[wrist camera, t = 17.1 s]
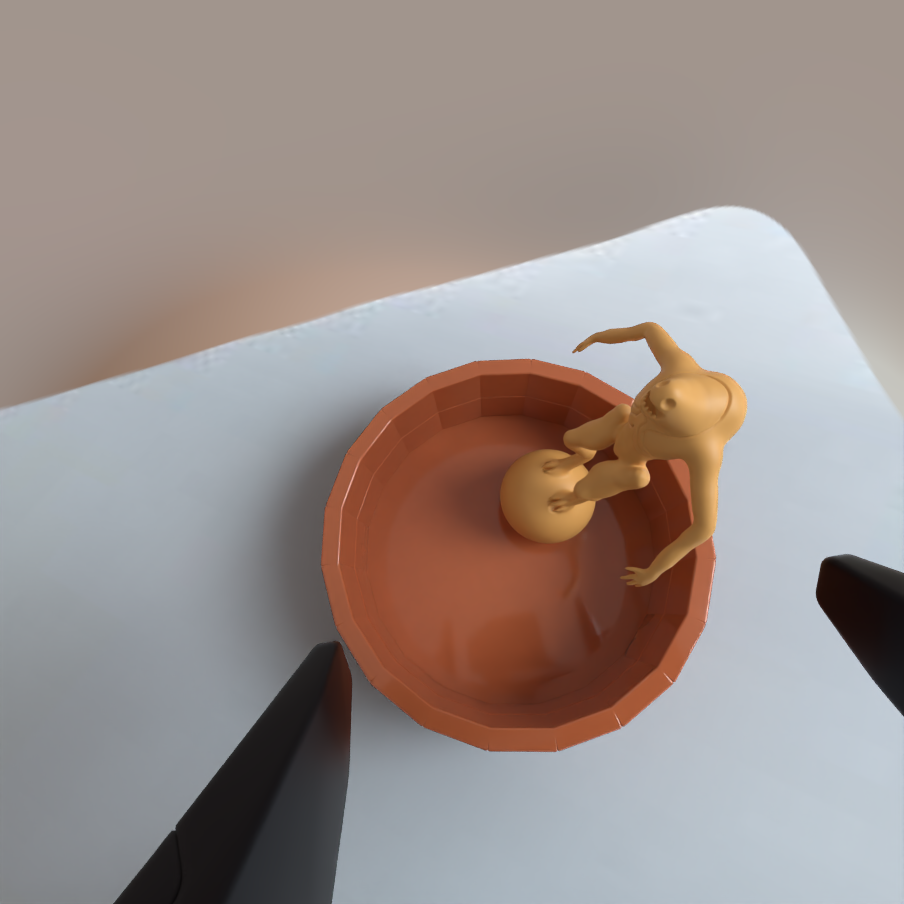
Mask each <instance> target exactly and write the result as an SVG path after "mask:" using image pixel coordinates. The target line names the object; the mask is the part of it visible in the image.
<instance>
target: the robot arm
mask: <svg viewBox="0 0 904 904" xmlns="http://www.w3.org/2000/svg"><path fill="white" fill-rule="evenodd" d="M816 598H817V601H818V603H819V605H820V607H821V608H822V610H823V611H824V612H825V614H826V615H827V617H828V618H829V619H830V621H831V622H832V624H833V625H834V626H835V628H836V629H837V631H838V632H839V633H840V635H841V636H842V638H843V639H844V640H845V642H846V643H847V645H848V646H849V647H850V649H851V650H852V652H853V653H854V654H855V656H856V657H857V659H858V660H859V661H860V663H861V664H862V666H863V667H864V668H865V670H866V671H867V672H868V674H869V675H870V676H871V678H872V679H873V680H874V682H875V683H876V684H877V685H878V687H879V688H880V689H881V690H882V692H883V693H884V694H885V695H886V696H887V698H888V699H889V700H890V701H891V702H892V703H893V705H894V706H895V707H896V708H897V709H898V710H899V712H900V713H901V714H902V715H903V716H904V573H902V572H899V571H897V570H894V569H891V568H888V567H885V566H882V565H879V564H877V563H874V562H871V561H868V560H865V559H862V558H859V557H857V556H854V555H849V554H843V555H838V556H832V557H827V558H825V559H824V560H823V561H822V563H821V567H820V572H819V577H818V583H817V588H816ZM351 702H352V678H351V672H350V669H349V666H348V663H347V660H346V657H345V654H344V651H343V648H342V646H341V644H340V643H339V642H338V641H332V642H327V643H321V644H318V645H316V646H315V647H314V648H313V649H312V651H311V652H310V653H309V655H308V656H307V657H306V658H305V660H304V661H303V662H302V664H301V665H300V666H299V668H298V669H297V670H296V671H295V673H294V674H293V675H292V677H291V678H290V679H289V680H288V682H287V683H286V684H285V686H284V687H283V688H282V689H281V691H280V692H279V693H278V695H277V696H276V697H275V698H274V700H273V701H272V702H271V704H270V705H269V706H268V707H267V709H266V710H265V711H264V713H263V714H262V715H261V716H260V718H259V719H258V720H257V722H256V723H255V724H254V725H253V727H252V728H251V729H250V731H249V732H248V733H247V734H246V736H245V737H244V738H243V740H242V741H241V742H240V743H239V745H238V746H237V747H236V749H235V750H234V751H233V752H232V754H231V755H230V756H229V758H228V759H227V760H226V761H225V763H224V764H223V765H222V767H221V768H220V769H219V771H218V772H217V773H216V774H215V776H214V777H213V778H212V780H211V781H210V782H209V783H208V785H207V786H206V787H205V789H204V790H203V791H202V792H201V794H200V795H199V796H198V798H197V799H196V800H195V801H194V803H193V804H192V805H191V807H190V808H189V809H188V810H187V812H186V813H185V814H184V816H183V817H182V818H181V819H180V821H179V822H178V823H177V825H176V828H175V829H176V831H175V830H173V831H171V832H170V833H169V835H168V836H167V837H166V838H165V840H164V841H163V842H162V844H161V845H160V846H159V847H158V849H157V850H156V851H155V853H154V854H153V855H152V856H151V858H150V859H149V860H148V861H147V863H146V864H145V865H144V866H143V868H142V869H141V870H140V871H139V873H138V874H137V875H136V876H135V878H134V879H133V880H132V881H131V883H130V884H129V885H128V886H127V888H126V889H125V890H124V891H123V892H122V894H121V895H120V896H119V897H118V899H117V900H116V901H115V902H114V903H113V904H332V896H333V889H334V882H335V874H336V867H337V860H338V852H339V845H340V838H341V830H342V823H343V816H344V808H345V801H346V794H347V786H348V777H349V764H350V735H351Z"/></svg>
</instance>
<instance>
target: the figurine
mask: <svg viewBox="0 0 904 904" xmlns="http://www.w3.org/2000/svg"><path fill="white" fill-rule="evenodd" d="M643 338H645V339H646V341H647V343H648V346H649V347H650V349H651V351H652V353H653V355H654V356H655V358H656V360H657V361H658V363H659V364H660V366H661V372H660V374H659V375H658V376H656V377H655V378H654V379H653V380H651V381H650V382H649V383H648V384H647V385H646V386H645V387H644V388H643V389H642V390H641V391H640V392H639V394H638V395H637V396H636V398H635V400H634V401H633V403H632V406H631V407H630V406H629V405H626V404H619V405H617V406H616V407H615V408H614V409H613V410H611V411H609V412H608V413H607V414H606V415H605V416H603V417H601V418H598V419H596V420H592V421H590V422H587V423H585V424H583V425H581V426H580V427H578V428H575V429H572V430H569V431H567V432H566V433H565V434H564V437H563V441H564V444H565V446H566V447H567V448H568V449H570V450H572V451H574V452H575V453H576V454H574V455H569V454H567V453H565V452H562V451H558V450H553V449H542V450H536V451H532V452H530V453H527V454H525V455H523V456H522V457H520V458H519V459H517V460H516V461H515V462H514V463H513V464H512V465H511V466H510V468H509V469H508V470H507V472H506V474H505V476H504V478H503V481H502V484H501V489H500V502H501V507H502V510H503V513H504V515H505V517H506V519H507V521H508V522H509V524H510V525H511V526H512V528H513V529H514V530H515V531H517V532H518V533H519V534H520V535H522V536H523V537H525V538H527V539H529V540H532V541H535V542H538V543H545V544H552V543H559V542H563V541H566V540H568V539H570V538H572V537H574V536H576V535H577V534H578V533H579V532H581V531H582V530H583V529H584V528H585V526H586V525H587V524H588V522H589V521H590V519H591V517H592V515H593V512H594V508H595V503H596V501H598V500H600V499H602V498H607V497H610V496H613V495H616V494H618V493H620V492H622V491H626V490H633V489H640V488H643V487H645V486H646V485H647V484H648V483H649V481H650V474H649V472H648V469H647V467H646V462H647V461H648V460H653V459H661V460H673V459H682V460H684V461H685V462H686V464H687V466H688V468H689V473H690V491H691V503H692V511H693V518H694V521H693V524H692V525H691V526H690V527H689V528H687V529H686V530H685V531H684V532H683V533H682V534H681V535H680V536H679V537H678V538H677V539H676V540H675V541H674V542H672V543H671V544H670V545H668V546H667V547H666V548H664V549H663V550H662V551H661V552H660V553H659V554H658V556H657V557H656V558H655V560H654V561H653V562H652V564H651V565H650V567H649V568H647V569H640V568H636V567H626V568H625V569H626V570H629V571H633V572H635V574H630V575H627V576H621V577H620V578H621V579H633V581H630V582H627V583H626V584H627V585H635V584H636V585H635V587H641V586H645V585H648V584H650V583H651V582H653V581H655V580H656V579H657V578H658V577H659V576H660V575H661V574H662V573H663V572H664V571H666V570H667V569H669V568H671V567H672V566H674V565H675V564H676V563H677V562H678V561H679V560H680V559H682V558H683V557H684V556H685V555H686V554H687V553H688V552H689V551H691V550H692V549H694V548H695V547H697V546H699V545H700V544H702V543H704V542H705V541H706V540H708V539H709V538H710V537H711V536H712V534H713V533H714V531H715V527H716V522H717V508H718V475H719V471H720V468H721V464H722V459H723V448H724V446H725V444H726V443H727V442H728V441H729V440H730V439H731V438H732V437H733V436H734V435H735V434H736V432H737V431H738V430H739V429H740V427H741V426H742V424H743V422H744V419H745V416H746V412H747V399H746V395H745V393H744V391H743V390H742V388H741V387H740V386H739V384H738V383H737V382H736V381H735V380H733V379H732V378H731V377H729V376H727V375H725V374H722V373H718V372H712V371H707V370H704V369H702V368H701V367H700V366H699V365H698V364H697V363H696V362H695V360H694V359H693V358H692V357H691V356H690V355H689V354H688V353H686V352H684V351H683V350H681V349H680V348H679V347H678V346H677V345H676V343H675V342H674V340H673V339H672V338H671V337H670V336H669V335H668V333H667V332H666V331H665V330H664V329H663V328H662V327H661V326H659V325H658V324H656V323H653V322H646V323H642V324H639V325H636V326H633V327H629V328H617V329H609V330H606V331H603V332H598V333H595V334H593V335H591V336H590V337H588V338H587V339H586V340H584V341H583V342H582V343H580V344H579V345H578V346H577V347H576V349H575V350H574V351H573V352H572V353H575V352H576V351H578V350H579V351H578V352H581V351H583V350H584V349H585V348H587V347H588V346H590V345H591V344H593V343H595V342H601V343H607V344H615V343H622V342H626V341H638V340H641V339H643ZM614 443H615V444H614ZM612 444H614V448H613V450H614V453H615V455H616V456H618V457H619V459H618V460H609V461H603V462H600V463H598V464H596V465H594V466H593V467H592V468H591V470H590V471H589V472H588V470H587V469H586V468H585V466H584V465H583V464H584V463H586V462H588V461H590V460H591V459H592V458H593V457H594V455H595V453H596V451H597V450H603V449H605V448H607V447H609V446H611V445H612Z"/></svg>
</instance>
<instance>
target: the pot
mask: <svg viewBox="0 0 904 904" xmlns="http://www.w3.org/2000/svg"><path fill="white" fill-rule="evenodd" d="M633 401H634V399H633V398H631V397H630V396H628V395H626V394H624V393H622V392H621V391H619V390H617V389H615V388H614V387H612V386H610V385H608V384H607V383H605V382H603V381H601V380H599V379H598V378H596V377H594V376H592V375H591V374H589V373H587V372H586V373H585V372H584V371H580V370H576V369H572V368H568V367H564V366H560V365H555V364H551V363H547V362H543V361H539V360H535V359H532V360H531V359H513V360H489V361H474V362H471V363H468V364H465V365H462V366H459V367H456V368H454V369H451V370H448V371H445V372H442V373H439V374H436V375H433V376H430V377H427V378H426V379H423V380H422V381H420V382H419V383H418V384H416V385H415V386H413V387H412V388H410V389H409V390H407V391H406V392H405V393H403V394H402V395H400V396H399V397H397V398H396V399H395V400H393V401H392V402H390V403H389V404H387V405H386V406H385V407H383V408H382V409H381V410H380V411H379V412H378V413H377V415H376V416H375V417H374V418H373V420H372V421H371V422H370V424H369V425H368V426H367V427H366V429H365V430H364V431H363V432H362V434H361V435H360V436H359V437H358V439H357V440H356V441H355V442H354V444H353V445H352V446H351V447H350V449H349V450H348V451H347V454H346V455H345V457H344V460H343V462H342V465H341V467H340V470H339V472H338V475H337V478H336V480H335V483H334V485H333V488H332V490H331V493H330V495H329V498H328V501H327V503H326V507H325V513H324V526H323V540H322V554H321V566H322V567H321V569H322V573H323V577H324V582H325V586H326V590H327V594H328V598H329V602H330V606H331V611H332V615H333V619H334V623H335V626H336V628H337V631H338V632H339V634H340V635H341V637H342V639H343V640H344V642H345V644H346V645H347V647H348V648H349V650H350V652H351V653H352V655H353V657H354V658H355V660H356V661H357V663H358V665H359V666H360V668H361V670H362V671H363V673H364V674H365V676H366V678H367V679H368V681H369V682H371V685H372V686H374V687H375V688H376V689H377V690H378V691H380V692H381V693H382V694H383V695H384V696H386V697H387V698H388V699H389V700H390V701H392V702H393V703H394V704H395V705H396V706H398V707H399V708H400V709H401V710H402V711H404V712H405V713H406V714H407V715H408V716H410V717H411V718H412V719H413V720H414V721H416V722H417V723H418V724H419V725H420V726H423V727H424V728H426V729H429V730H432V731H434V732H437V733H440V734H442V735H445V736H448V737H450V738H453V739H456V740H458V741H461V742H464V743H467V744H469V745H472V746H475V747H477V748H480V749H483V750H488V751H498V752H556V751H557V750H558V751H561V750H564V749H567V748H569V747H572V746H575V745H577V744H580V743H583V742H586V741H588V740H591V739H594V738H597V737H599V736H602V735H605V734H607V733H610V732H613V731H616V730H618V729H620V728H621V727H623V726H625V725H627V724H628V723H629V722H630V721H631V720H632V719H633V718H635V717H636V716H637V715H638V714H639V713H640V712H642V711H643V710H644V709H645V708H646V707H647V706H648V705H650V704H651V703H652V702H653V701H654V700H655V699H656V698H658V697H659V696H660V695H661V694H662V693H663V692H665V691H666V690H667V689H668V688H669V687H670V686H671V685H672V684H673V682H675V681H676V679H677V677H678V676H679V674H680V672H681V670H682V668H683V666H684V665H685V663H686V661H687V659H688V657H689V655H690V653H691V652H692V650H693V648H694V646H695V644H696V642H697V641H698V639H699V637H700V635H701V633H702V631H703V630H704V628H705V625H706V624H705V623H706V622H707V616H708V609H709V603H710V596H711V590H712V583H713V577H714V571H715V564H716V560H715V559H716V554H715V548H714V543H713V537H712V536H711V537H710V538H709V539H708V540H706V541H705V542H704V543H702V544H700V545H699V546H697V547H695V548H694V549H692V550H691V551H689V552H688V553H687V554H686V555H685V556H684V557H683V558H682V559H680V560H679V561H678V562H677V563H676V564H675V565H674V566H672V567H671V568H669V569H667V570H666V571H664V572H663V573H662V574H661V575H660V576H659V577H658V578H657V579H656V580H655V581H653V582H651V583H650V584H648V585H645V586H641V587H635V585H636V584H635V585H627V584H626V583H627V582H630V581H633V579H621V578H620V577H621V576H627V575H630V574H635V572H633V571H629V570H626V569H625V568H626V567H636V568H640V569H647V568H649V567H650V565H651V564H652V562H653V561H654V560H655V558H656V557H657V556H658V554H659V553H660V552H661V551H662V550H663V549H664V548H666V547H667V546H668V545H670V544H671V543H672V542H674V541H675V540H676V539H677V538H678V537H679V536H680V535H681V534H682V533H683V532H684V531H685V530H686V529H687V528H689V527H690V526H691V525H692V524H693V521H694V518H693V511H692V503H691V491H690V473H689V468H688V466H687V464H686V462H685V461H684V460H682V459H673V460H661V459H653V460H648V461H647V462H646V467H647V469H648V472H649V474H650V481H649V483H648V484H647V485H646V486H645V487H643V488H640V489H633V490H626V491H622V492H620V493H618V494H616V495H613V496H610V497H607V498H602V499H600V500H598V501H596V503H595V508H594V512H593V515H592V517H591V519H590V521H589V522H588V524H587V525H586V526H585V528H584V529H583V530H582V531H581V532H579V533H578V534H577V535H576V536H574V537H572V538H570V539H568V540H566V541H563V542H559V543H552V544H545V543H538V542H535V541H532V540H529V539H527V538H525V537H523V536H522V535H520V534H519V533H518V532H517V531H515V530H514V529H513V528H512V526H511V525H510V524H509V522H508V521H507V519H506V517H505V515H504V513H503V510H502V507H501V502H500V489H501V484H502V481H503V478H504V476H505V474H506V472H507V470H508V469H509V468H510V466H511V465H512V464H513V463H514V462H515V461H516V460H517V459H519V458H520V457H522V456H523V455H525V454H527V453H530V452H532V451H536V450H542V449H553V450H558V451H562V452H565V453H567V454H569V455H574V454H576V453H575V452H574V451H572V450H570V449H568V448H567V447H566V446H565V444H564V441H563V437H564V434H565V433H566V432H567V431H569V430H572V429H575V428H578V427H580V426H581V425H583V424H585V423H587V422H590V421H592V420H596V419H598V418H601V417H603V416H605V415H606V414H607V413H608V412H609V411H611V410H613V409H614V408H615V407H616V406H617V405H619V404H626V405H629V406H630V407H631V406H632V403H633ZM614 444H615V443H614ZM614 444H612V445H611V446H609V447H607V448H605V449H603V450H597V451H596V453H595V455H594V457H593V458H592V459H591V460H590V461H588V462H586V463H584V464H583V465H584V466H585V468H586V469H587V470H588V472H589V471H590V470H591V468H592V467H593V466H594V465H596V464H598V463H600V462H603V461H609V460H618V459H619V457H618V456H616V455H615V453H614V450H613V448H614Z"/></svg>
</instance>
